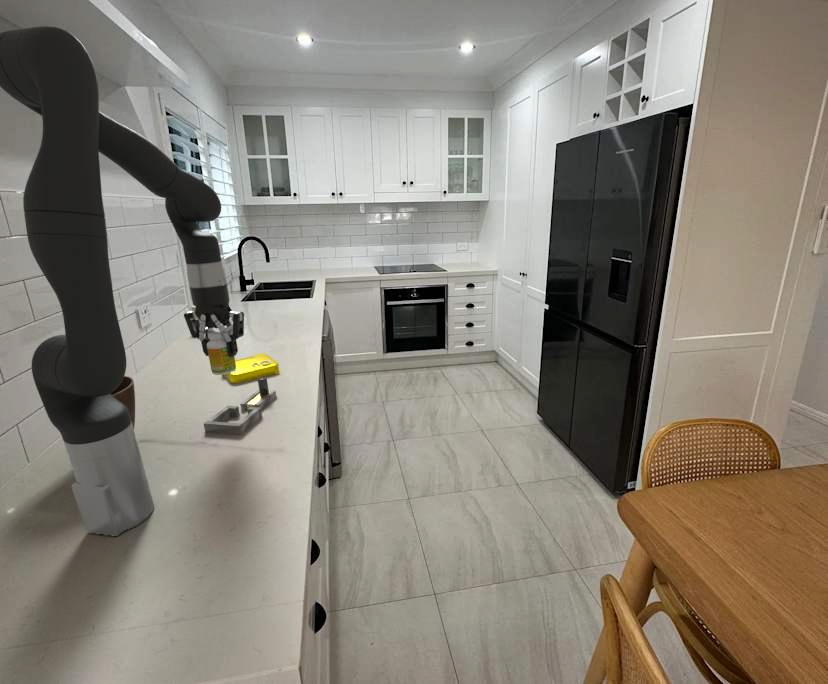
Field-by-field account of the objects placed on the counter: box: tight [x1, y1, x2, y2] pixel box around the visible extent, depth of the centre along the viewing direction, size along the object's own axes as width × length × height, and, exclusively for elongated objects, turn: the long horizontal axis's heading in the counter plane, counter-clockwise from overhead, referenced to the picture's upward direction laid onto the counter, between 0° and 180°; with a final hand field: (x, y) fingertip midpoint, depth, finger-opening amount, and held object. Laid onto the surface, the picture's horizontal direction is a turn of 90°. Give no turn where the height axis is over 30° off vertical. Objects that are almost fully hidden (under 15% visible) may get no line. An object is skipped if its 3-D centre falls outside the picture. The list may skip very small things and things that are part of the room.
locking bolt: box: [246, 376, 271, 410], centre depth 114 cm, size 8×2×6 cm, turn 169°
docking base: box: [203, 389, 277, 436], centre depth 110 cm, size 24×13×3 cm, turn 169°
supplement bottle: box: [207, 329, 236, 376], centre depth 99 cm, size 5×5×10 cm
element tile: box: [222, 352, 280, 384], centre depth 138 cm, size 15×15×5 cm
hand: (221, 355), depth 99 cm, fingers closed on supplement bottle, 5 cm apart
